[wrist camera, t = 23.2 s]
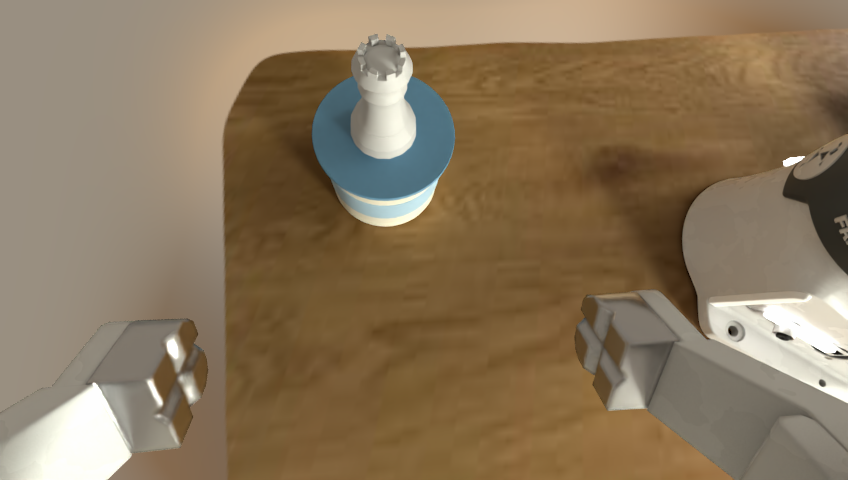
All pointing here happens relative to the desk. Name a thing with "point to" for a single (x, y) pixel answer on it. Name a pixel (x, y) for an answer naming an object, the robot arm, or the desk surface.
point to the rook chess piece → (382, 99)
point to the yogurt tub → (383, 178)
